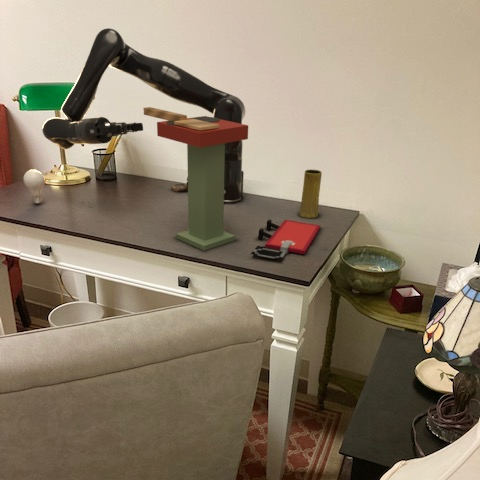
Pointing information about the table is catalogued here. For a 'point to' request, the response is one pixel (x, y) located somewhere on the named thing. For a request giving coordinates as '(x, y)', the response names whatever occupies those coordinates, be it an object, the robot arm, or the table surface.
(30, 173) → the lightbulb
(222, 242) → the pedestal side table
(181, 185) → the compass
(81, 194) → the table surface
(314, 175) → the vase
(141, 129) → the robot arm
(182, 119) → the spatula
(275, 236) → the red board with handle
